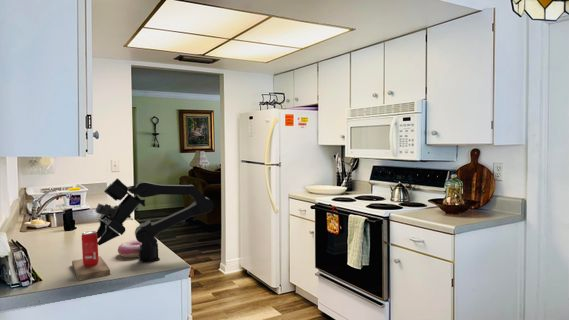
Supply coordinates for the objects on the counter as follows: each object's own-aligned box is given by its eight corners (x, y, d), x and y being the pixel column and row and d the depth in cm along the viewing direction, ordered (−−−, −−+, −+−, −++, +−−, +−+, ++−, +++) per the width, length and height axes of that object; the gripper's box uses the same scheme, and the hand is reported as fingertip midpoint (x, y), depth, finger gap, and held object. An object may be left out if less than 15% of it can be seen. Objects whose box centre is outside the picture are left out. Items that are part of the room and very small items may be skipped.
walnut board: (100, 260, 159) (100, 256, 159) (110, 274, 142) (110, 269, 142) (72, 265, 154) (71, 260, 154) (78, 280, 137) (78, 275, 137)
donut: (127, 261, 158) (127, 249, 157) (111, 255, 166) (111, 243, 166) (158, 253, 168) (158, 241, 167) (141, 248, 177) (141, 237, 176)
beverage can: (80, 267, 146) (78, 234, 145) (89, 262, 151) (87, 230, 150) (93, 267, 145) (91, 234, 144) (101, 262, 150) (100, 231, 149)
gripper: (104, 192, 158) (74, 224, 153) (113, 198, 143) (81, 234, 137) (126, 210, 163) (98, 241, 158) (138, 217, 148) (107, 252, 142)
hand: (96, 242), depth 149 cm, fingers open, 9 cm apart
